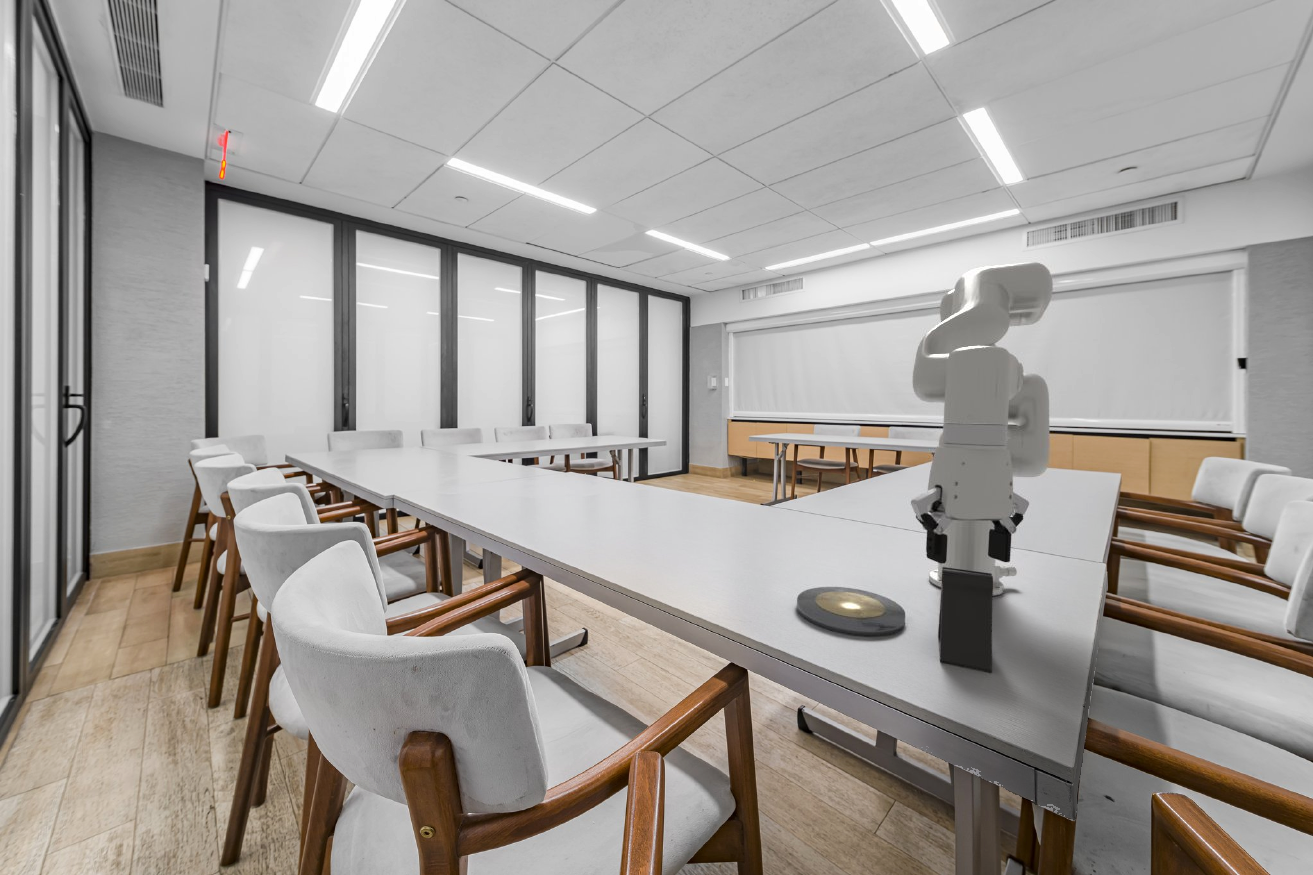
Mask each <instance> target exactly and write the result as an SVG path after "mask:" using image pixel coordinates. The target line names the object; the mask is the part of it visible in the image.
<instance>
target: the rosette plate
mask: <svg viewBox="0 0 1313 875" xmlns="http://www.w3.org/2000/svg"><path fill="white" fill-rule="evenodd" d="M796 597H797V598H796V609H797V612H798V614H799V615H800V616H801V618H802V619H803V620H804V619H805V620H806V621H807V622H809V623H811V624H812V625H815V626H817V627H819V628H821V629H825V630H829V631H832V632H835V633H838V634H845V635H851V636H856V637H857V636H858V637H883V636H890V635H893V634H896V633H898V632H901V631H902V630H903V629H904V628H905V626H906V625H905V624H906V612H905V609H904V608H903V607H902V606H901V604H899V603H897V602H896V601H894V600H892V599H890V598H888V597H886V596H883V595H880V594H879V593H878V594H877V593H876V592H875V593H874V592H872V591H867V590H864V589H860V588H859V589H858V588H851V587H844V586H818V587H813V588H809V589H806V590H805V589H804V591H802V592H800V593H799V594H798V596H796Z"/></svg>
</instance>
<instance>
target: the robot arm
mask: <svg viewBox="0 0 1313 875" xmlns="http://www.w3.org/2000/svg"><path fill="white" fill-rule="evenodd" d="M1053 282H1054V281H1053V277H1052V274H1051V271H1050V270H1049V269H1048V267H1046V265H1044V264H1042V263H1040V262H1037V261H1036V262H1035V261H1033V262H1032V261H1031V262H1021V263H1020V262H1019V263H1012V264H1003V265H994V266H984V267H979V268H975V269H971V270H970V271H967V272H966V273H964V274H963V275H961V276H960V277H959V279H957V281H956V283H955V285H954V288H953V289H952V290H950V291H949V292H947V293H946V294H945V295H944V296H942V299H941V301H940V304H939V305H940V307H939V316H940V317H939V318H940V323H939V324H937V325H935V327H933V328H932V329H931V330H929V331H928V332H927V333H926V334H925V335H924V336H923V337H922V339H921V340H920V342H919V343H918V344H919V345H918V347H917V351H916V352H915V353H916V354H915V360H914V366H913V370H912V388H913V392H914V394H915V396H916V397H917V398H918V399H919V400H921V401H923V402H927V403H941V404H942V403H944V406H943V426H942V432H941V434H940V436H939V440H938V446H936V447H935V452H934V454H933V458H932V462H931V465H930V466H931V467H930V471H929V478H928V485H927V491H925V492H924V493H921V494H920V495H918V496H916V497H914V498H912V499H911V501H910V505H911V507H912V509H913V512H914V514H915V518H916V520H917V521H918V522H919V523H920V524H921V525H922V529H923V530H925V531H926V540H925V541H926V544H925V545H926V546H925V553H926V558H927V559H928V560H931V561H933V562H935V563H937V569H934V570H932V571H930V572H928V580H929V582H931V583H932V584H933V585H935V586H936V587H938V588H941V585H942V568H943V567H947V568H954V569H962V570H969V571H976V572H984V573H991V574H992V576H993V595H992V597H993V596H999V595H1002V594H1003V593H1004V592H1005V591H1004V590H1005V588H1004V587H1005V585H1004V584H1003V582H1001V581H1000V579H1002V578H1003V577H1015V576H1016V575H1017V574H1018V573H1017V572H1018V571H1017V568H1015V566H1013V565H1012V566H1011V565H1008V566H1001V565H1000V564H999V563H996V560H997V561H1000V562H1003V563H1010V562H1011V552H1012V551H1011V550H1012V547H1011V546H1012V535H1013V534H1015V533H1016V532H1017V529H1018V528H1017V527H1018V526H1019V525H1020V524H1021V523H1022V522H1023V520H1024V515H1025V514H1026V512H1027V510H1028V508H1029V505H1030V502H1029V501H1028V500H1027V499H1026V498H1024V497H1023V496H1021V495H1019V494H1017V493H1015V492H1014V478H1037V477H1040V476H1042V475H1043V474H1044V473H1045V472H1047V469H1048V467H1049V466H1048V465H1049V461H1050V449H1051V446H1050V443H1051V442H1050V397H1049V396H1050V394H1049V388H1048V384H1047V382H1046V380H1045V379H1044V378H1043V377H1042V375H1039V374H1036V373H1032V372H1031V373H1030V372H1024V366H1023V364H1022V362H1019V360H1018V358H1017V357H1016V356H1015V355H1014V354H1013V353H1010V352H1009V350H1008V349H1006V347H1005V348H1004V347H1001V346H997V345H996V344H997V343H998V342H999V341H1000V340H1002V339H1003V338H1004V337H1005V336H1006V334H1007V333H1008V331H1009V328H1010V327H1019V326H1021V327H1022V326H1029V325H1034V324H1036V323H1038V322H1039V321H1041V319H1042V318H1043V316H1044V314H1045V312H1046V310H1047V309H1048V307H1049V304H1050V302H1051V299H1052V296H1053V289H1054V288H1053V286H1054V284H1053ZM1008 423H1013V424H1015V425H1008Z"/></svg>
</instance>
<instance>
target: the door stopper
mask: <svg viewBox="0 0 1313 875" xmlns="http://www.w3.org/2000/svg"><path fill="white" fill-rule="evenodd" d="M940 588H941V589H940V598H939V599H940V602H939V614H938V628H937V630H938V631H937V640H938V642H937V643H938V644H937V645H938V653H939V662H940V663H944V664H949V665H954V666H958V667H962V668H967V669H968V668H969V669H972V670H976V671H982V672H986V673H993V596H992V595H993V576H992V574H991V573H984V572H976V571H969V570H962V569H954V568H947V567H943V568H942V585H941V587H940Z"/></svg>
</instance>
